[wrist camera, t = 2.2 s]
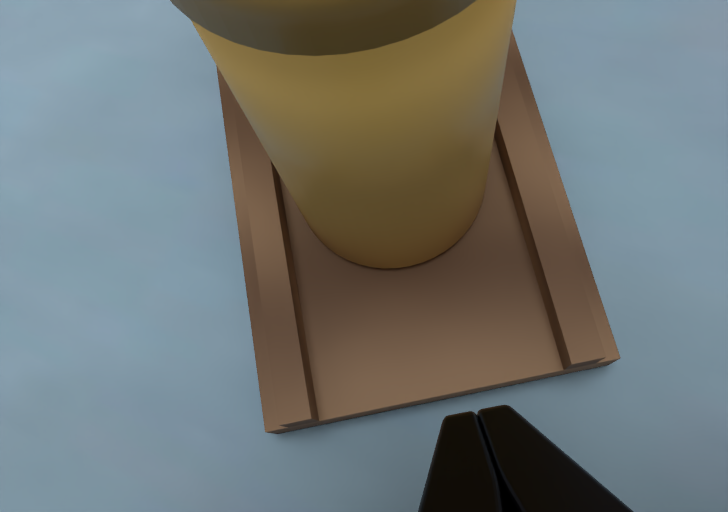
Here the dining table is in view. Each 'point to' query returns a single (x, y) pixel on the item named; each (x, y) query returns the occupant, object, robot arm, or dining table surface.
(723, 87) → the dining table surface
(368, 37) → the tan cylinder
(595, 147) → the dining table surface
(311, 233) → the rail
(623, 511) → the robot arm
